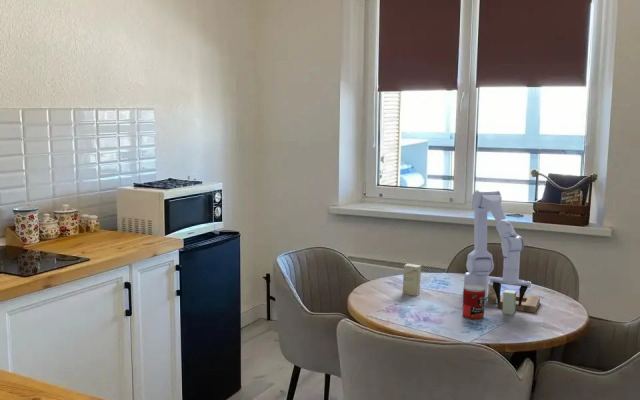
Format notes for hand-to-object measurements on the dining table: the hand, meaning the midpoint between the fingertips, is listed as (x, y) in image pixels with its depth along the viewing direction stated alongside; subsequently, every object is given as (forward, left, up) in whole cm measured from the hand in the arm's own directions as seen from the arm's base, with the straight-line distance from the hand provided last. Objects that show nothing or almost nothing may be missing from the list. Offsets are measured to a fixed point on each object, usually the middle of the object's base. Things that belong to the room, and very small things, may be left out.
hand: (509, 303), depth 229 cm
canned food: (-11, -11, -4) cm, 16 cm away
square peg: (0, 0, -3) cm, 3 cm away
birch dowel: (-8, +10, -3) cm, 13 cm away
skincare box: (-40, +6, -4) cm, 41 cm away
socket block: (+2, +11, -3) cm, 12 cm away
